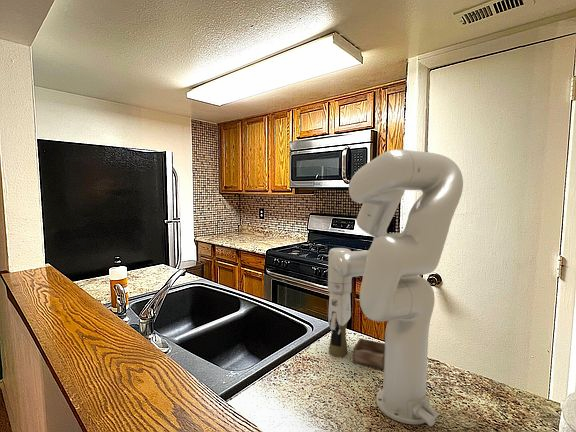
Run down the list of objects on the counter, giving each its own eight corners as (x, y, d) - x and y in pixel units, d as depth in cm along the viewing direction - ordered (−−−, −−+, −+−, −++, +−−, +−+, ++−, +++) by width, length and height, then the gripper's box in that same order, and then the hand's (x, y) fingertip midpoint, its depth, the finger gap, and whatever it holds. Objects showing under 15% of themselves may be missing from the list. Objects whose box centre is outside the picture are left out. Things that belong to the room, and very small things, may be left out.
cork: (347, 357, 97) (348, 323, 96) (328, 355, 98) (328, 321, 97) (347, 348, 103) (348, 316, 102) (329, 346, 104) (330, 314, 103)
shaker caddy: (388, 356, 98) (388, 344, 98) (384, 370, 90) (384, 357, 90) (359, 350, 102) (359, 338, 102) (352, 362, 94) (353, 349, 93)
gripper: (343, 294, 90) (342, 356, 91) (357, 282, 105) (356, 335, 106) (319, 291, 94) (318, 350, 94) (336, 279, 109) (335, 331, 109)
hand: (338, 342), depth 100 cm, fingers closed on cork, 3 cm apart
